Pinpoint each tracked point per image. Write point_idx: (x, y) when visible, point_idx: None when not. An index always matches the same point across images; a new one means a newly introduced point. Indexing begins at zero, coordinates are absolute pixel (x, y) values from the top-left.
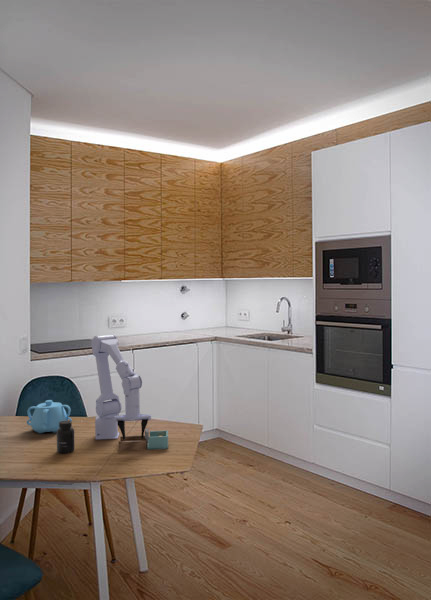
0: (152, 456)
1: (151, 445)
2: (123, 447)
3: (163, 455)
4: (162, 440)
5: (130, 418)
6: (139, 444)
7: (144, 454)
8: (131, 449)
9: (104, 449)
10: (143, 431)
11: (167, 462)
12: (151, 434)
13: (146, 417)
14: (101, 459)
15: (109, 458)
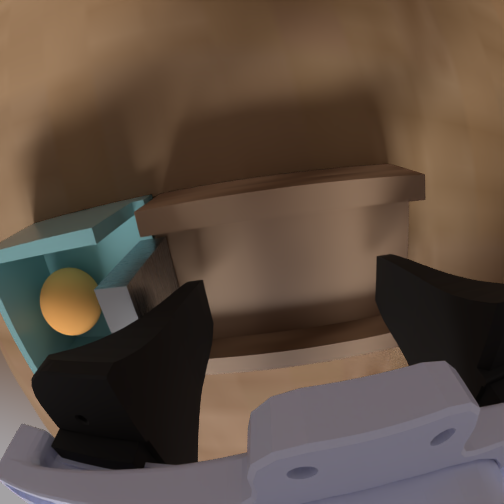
0: (87, 57)
1: (108, 208)
2: (360, 169)
3: (30, 95)
4: (19, 237)
5: (447, 427)
6: (209, 193)
7: (151, 83)
8: (286, 174)
9: (475, 205)
10: (152, 312)
11: (12, 6)
12: None
13: (38, 473)
14: (448, 12)
15: (408, 14)
